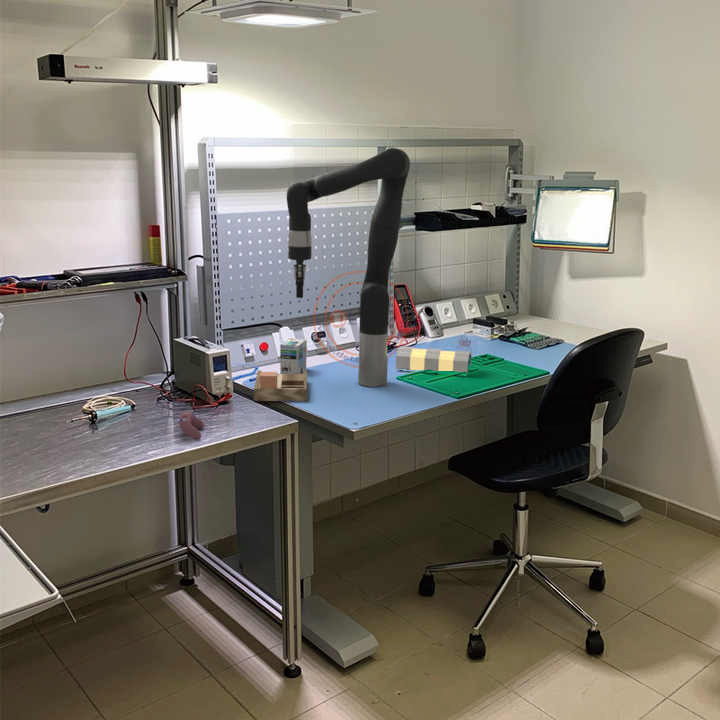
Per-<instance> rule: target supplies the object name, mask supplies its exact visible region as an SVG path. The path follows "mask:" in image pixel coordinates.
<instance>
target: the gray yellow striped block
mask: <svg viewBox="0 0 720 720" xmlns="http://www.w3.org/2000/svg"><path fill="white" fill-rule="evenodd" d="M471 343H472V340H469V339H468V337H464V335H463V334H460V336H459V339H458V344H459V345H458V346H456V348H457V350H456V351H453V350H452V351H450V350H449V351H448V350H443V348H432V347H431V348H430V347H428V348H427V349H425V348H415V346H406V345H405V346H403V345H400V346H399V347H398V349H397V352H396V355H395V356H396V357H395V370H396V369H406V370H433V371H455V372H467V373H468V372H469V371H468V365H471V366H472V349H473V348H472V347H471ZM459 348H460V349H463V348H466V350H459Z"/></svg>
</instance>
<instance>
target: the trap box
mask: <svg viewBox="0 0 720 720" xmlns="http://www.w3.org/2000/svg"><path fill="white" fill-rule="evenodd" d="M261 372H262V370H257V372H256V378H255V382H254V387H253V401H254V402H304V401H305V402H307V401H308V370H305V371H304V372H303V373H302V374H280V373H277V388H260V374H261Z"/></svg>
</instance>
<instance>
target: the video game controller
mask: <svg viewBox="0 0 720 720" xmlns="http://www.w3.org/2000/svg"><path fill="white" fill-rule="evenodd" d="M178 426H179V429H180V430H181V432H182V433H183V434H185V435H186V436H187V437H190V438H192V439H194V440H199V439H201V438H202V433H201V432H200V431H199V430H198V429H203V428H204V427H205V424H204V422H203V421H202V420H201V419H200V418H199V417H197V416H196V415H195V414H194V413H193V412H191V411H190V410H188V411H183V412H181V413H180V414H179V420H178Z"/></svg>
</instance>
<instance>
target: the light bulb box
mask: <svg viewBox="0 0 720 720" xmlns="http://www.w3.org/2000/svg"><path fill="white" fill-rule="evenodd" d="M307 342H308V341H307V339H302V338H301V339H300V338H288V339H286V340H285V341H283V342H282V343H281V344H280V345H279V349H280V350H279V351H280V353H279V354H280V355H279V356H280V358H279V359H280V360H279V364H280V367H279V369H280V370H279V371H280V373H279V374H304V371H307V358H308V357H307V352H308V351H307V349H308V347H307V346H308V345H307V344H308V343H307Z"/></svg>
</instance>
